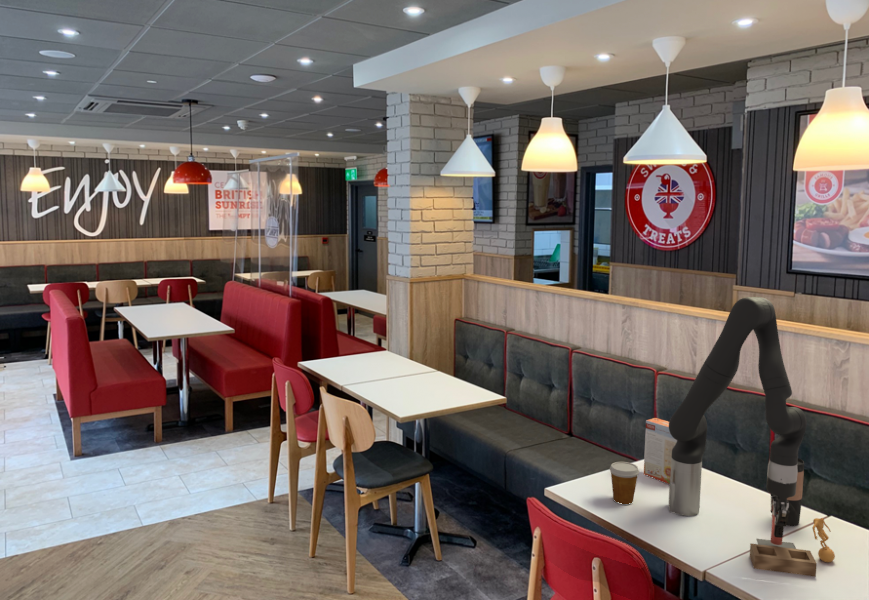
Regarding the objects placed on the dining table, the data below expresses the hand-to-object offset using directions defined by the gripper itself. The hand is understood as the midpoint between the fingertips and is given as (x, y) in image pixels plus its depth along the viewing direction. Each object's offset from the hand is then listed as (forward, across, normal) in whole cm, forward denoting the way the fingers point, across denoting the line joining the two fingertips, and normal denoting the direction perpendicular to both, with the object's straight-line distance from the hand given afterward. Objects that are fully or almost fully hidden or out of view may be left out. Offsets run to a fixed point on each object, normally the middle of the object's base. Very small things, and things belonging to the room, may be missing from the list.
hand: (777, 533), depth 196 cm
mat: (+4, 0, 0) cm, 4 cm away
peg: (+3, 0, 0) cm, 3 cm away
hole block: (+4, +11, 0) cm, 12 cm away
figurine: (+4, +4, +11) cm, 12 cm away
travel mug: (+5, -19, +6) cm, 21 cm away
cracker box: (+5, -44, -29) cm, 53 cm away
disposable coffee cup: (+5, -21, -43) cm, 48 cm away
